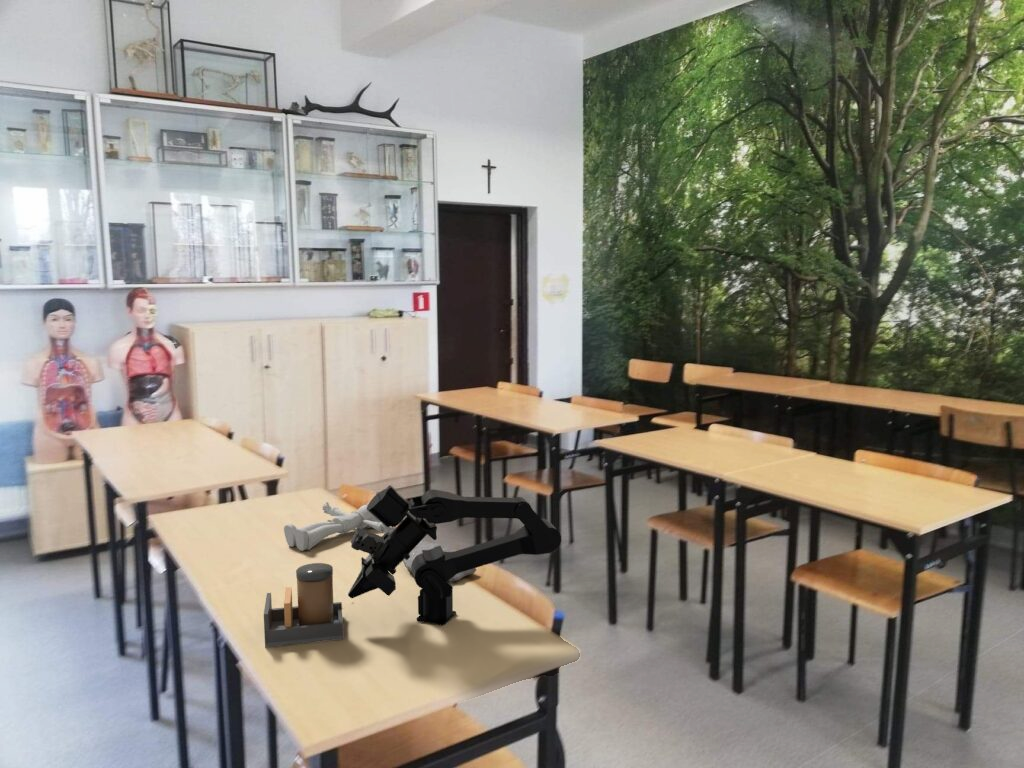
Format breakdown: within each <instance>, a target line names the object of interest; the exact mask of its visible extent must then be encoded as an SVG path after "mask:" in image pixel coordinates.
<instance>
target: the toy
mask: <svg viewBox="0 0 1024 768" xmlns="http://www.w3.org/2000/svg"><path fill="white" fill-rule="evenodd" d="M369 503H370V501H369V502H367V503H366V504H364V505H361V506H360V507H359V508H358V509H357V511H356V510H355V511H354V510H352V511H351V513H347V512H345V511H343V510H341V509H339V507H336V506H331V505H330V504H329V501H326V503H325V504H322V506H321V508H322V511H323V513H324V514H325V515H329V516H331V517H334V518H332V519H331V521H317V522H313V523H310V524H307V525H304V526H301V527H297V526H296V525H294V524H293V523H288V524H286V525H284V527H283V533H284V537H285V542H286V543H287V545H288V547H296V548H297V549H298V550H299V551H300V552H303V551H309V550H311V549H312V548H314V547H315V546H316V545H317V544H318V543H320V542H321V541H323V540H324V539H325V538H329V536H332V535H335V534H337V533H338V534H340V535H341V534H346V533H349V532H351V531H352V530H354V529H355V530H356V529H357V528H361V529H367V528H368V529H369V528H373V529H375V530H376V531H377V532H379V533H382V534H385V533H387V532H389V533H391V532H392V531H393V530H394V529H395V528H396V526H395V527H391V526H390V527H386V526H385V525H384V524H383V523H381V522H380V521H379V520H378V519H377V518H376V517H375V516H373V515H372V514H371V513H370V512H369V511H368V510H367V506H368V504H369ZM365 527H367V528H365Z"/></svg>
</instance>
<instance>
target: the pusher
mask: <svg viewBox="0 0 1024 768" xmlns="http://www.w3.org/2000/svg"><path fill="white" fill-rule="evenodd" d="M292 589H293V587H292V586H288V587H285V591H284V599H283V600H284V601H283V608H284V617H285V628H286V627H292V625H293V609H292V607H293V592H292V591H293V590H292Z"/></svg>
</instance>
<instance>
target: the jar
mask: <svg viewBox="0 0 1024 768" xmlns="http://www.w3.org/2000/svg"><path fill="white" fill-rule="evenodd" d="M333 571H334V568H333V566H332V564H328V563H324V562H314V563H313V562H311V563H308V564H303V565H301V566H299V567H297V569H296V571H295V573H296V576H295V577H296V584H297V585H296V589H297V606H298V618H299V626H306V625H315V624H325V623H334V607H333V603H334V587H333V586H334V583H333V582H334V581H333V577H334V576H333V575H334V572H333Z"/></svg>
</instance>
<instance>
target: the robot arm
mask: <svg viewBox="0 0 1024 768" xmlns="http://www.w3.org/2000/svg"><path fill="white" fill-rule="evenodd" d="M369 502H370V503H369ZM369 502H368V503H369V504H368V506H367V510H368V511H369V512H370V513H371V514H372V515H373V516H375V517H376V518H377V519H378V520H379V521H380V522H381V523H383V524H384V525H385V526H386V527H390V526H391V527H395V529H394V530H393V531H392V532H391V533H389V532H387V533H383V535H382V536H381V535H378V534H377V533H374V532H371V531H369V530H366V529H365V528H363V529H361V528H355V531H354V534H353V536H352V538H351V540H350V543H351V545H350V547H351V548H352V549H353V550H356V551H361V552H363V553H367V554H368V556H367V557H366V558H364V557H363V556H362V557H360V560H361V570H360V572H359V573H358V576H357V577H356V579H355V581H354V583H353V584H352V586H351V588H350V590H349V591H348V594H347V595H348V597H349V598H350V599H354V598H357V597H359V596H361V595H364V594H366V593H369V592H372V591H373V590H376V589H379V590H380V591H381V592H383V593H384V594H385V595H386V596H388V597H389V596H391V595H392V594H393V593H394V592H395V590H396V587H397V586H396V579H395V576H394V575H395V574H396V573H397V567H398V566H399V565H400V564H401V563H402V562H404V561H403V560H404V558H405V559H406V560H408V559H409V558H410V554H409V553H410V552H411V551H412V550H413V549H414V548H415V547H416V546H417V545H418V544H419V543H420V541H421V540H424V538H426V536H429V537H430V538H431V540H434V541H436V540H437V538H438V537H437V531H438V526H437V525H439V524H444V523H451V522H454V521H456V520H459V519H460V520H461V519H464V518H466V519H467V518H468V519H469V518H473V519H516V520H519V521H520V522H521V523H522V525H523V526H522V527H520V528H519V529H518V530H517V531H516V532H514V533H511V534H509V535H504V536H501V537H498V538H495V539H492V540H489V541H488V540H487V541H485V542H481V543H478V544H475V545H472V546H471V545H470V546H467V547H464V548H461V549H458V550H453V551H454V552H443V550H442V548H441V546H442V545H441V546H437V547H435V548H433V549H430V550H422V553H421V554H419V555H417V556H416V557H415V558H414V560H413V562H412V565H411V569H412V571H411V572H412V575H413V579H414V582H415V584H416V585H417V586H418V587H419V588H420V590H419V595H418V596H417V614H418V616H417V617H416V618H415V619H416V622H421V623H427V624H432V625H436V626H445V625H446V624H447V623H448V622H449V621H451V619H452V618H454V617H455V616H456V615H457V611H455V610H453V608H454V607H453V605H454V604H453V603H454V601H453V600H454V597H453V592H454V591H453V589H454V587H453V584H452V581H450V579H451V578H453V577H455V575H456V574H458V573H460V572H464V571H467V570H470V569H474V568H480V567H483V566H486V565H490V564H493V563H497V562H499V561H502V560H506V559H510V558H513V557H515V556H519V555H533V556H540V555H545V554H546V555H548V554H552V553H554V552H556V551H558V549H559V548H560V545H561V542H562V536H561V533H560V531H559V530H558V529H557V528H556V527H555V526H554V524H553V523H551V522H550V520H548V519H546V518H541V517H540V516H539V515H538V514H537V513H536V512H535V510H534V509H533V508H532V506H531V504H530V503H529V502H528V501H527V500H526V498H524V497H523V496H522V497H521V496H516V497H499V496H497V497H494V496H493V497H492V496H490V497H489V496H488V497H487V496H464V495H463V496H462V495H459V494H455V493H452V492H449V491H445V490H444V491H443V490H439V489H435V488H433V489H427V490H426V492H424V493H423V494H422V495H417V496H412V497H407V498H404V497H403V496H402V495H401V494H399V492H397V490H396V489H395V488H394V487H393V486H392V485H391V484H390V485H388V486H387V487H386V488H385V489H382V490H381V491H379V492H377V493H376V494H375V495H374V496H373V497H372V499H370V500H369Z"/></svg>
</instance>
